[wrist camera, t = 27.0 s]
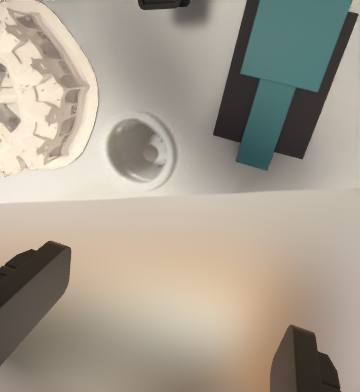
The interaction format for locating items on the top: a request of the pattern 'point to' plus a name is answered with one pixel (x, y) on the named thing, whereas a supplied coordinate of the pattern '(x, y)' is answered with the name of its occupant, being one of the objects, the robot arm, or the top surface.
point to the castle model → (42, 90)
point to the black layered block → (162, 4)
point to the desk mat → (301, 102)
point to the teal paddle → (285, 65)
